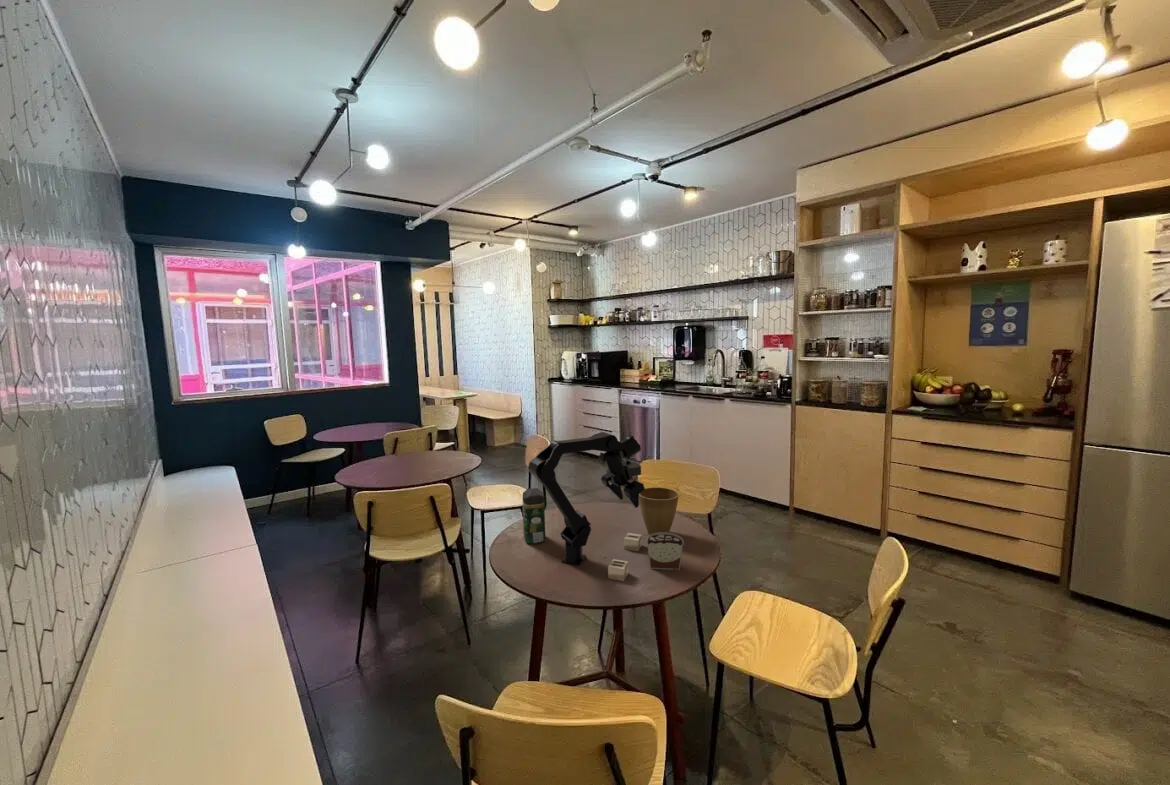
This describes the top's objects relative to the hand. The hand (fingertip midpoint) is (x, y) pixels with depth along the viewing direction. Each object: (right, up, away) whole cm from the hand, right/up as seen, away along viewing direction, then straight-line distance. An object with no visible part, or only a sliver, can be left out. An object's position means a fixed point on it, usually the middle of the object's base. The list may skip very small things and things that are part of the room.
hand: (629, 503), depth 167 cm
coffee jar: (-34, -15, +7) cm, 38 cm away
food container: (+10, -17, -13) cm, 24 cm away
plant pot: (+12, -14, +11) cm, 21 cm away
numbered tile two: (-5, -18, -20) cm, 28 cm away
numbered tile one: (+1, -16, 0) cm, 16 cm away
